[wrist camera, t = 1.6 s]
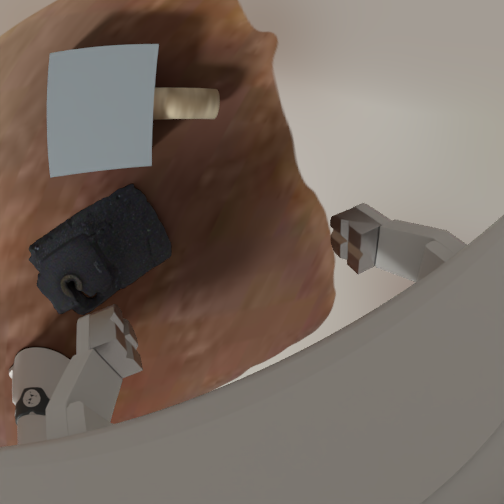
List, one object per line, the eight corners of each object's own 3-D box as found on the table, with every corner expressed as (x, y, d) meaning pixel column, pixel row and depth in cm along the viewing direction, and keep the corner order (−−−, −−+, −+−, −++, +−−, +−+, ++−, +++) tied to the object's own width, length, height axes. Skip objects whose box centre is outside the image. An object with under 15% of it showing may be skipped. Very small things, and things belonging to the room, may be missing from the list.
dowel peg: (208, 117, 36) (217, 120, 33) (117, 120, 31) (116, 123, 28) (211, 88, 34) (221, 88, 31) (118, 89, 29) (118, 88, 26)
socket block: (146, 153, 36) (151, 165, 31) (60, 163, 31) (50, 177, 26) (151, 52, 29) (158, 44, 24) (61, 60, 24) (49, 53, 19)
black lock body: (181, 255, 47) (188, 271, 43) (75, 315, 43) (74, 335, 40) (137, 174, 37) (139, 184, 34) (20, 251, 34) (12, 267, 30)
